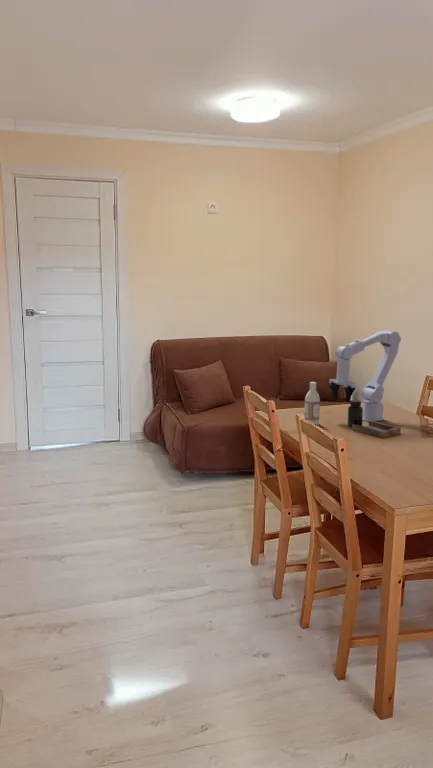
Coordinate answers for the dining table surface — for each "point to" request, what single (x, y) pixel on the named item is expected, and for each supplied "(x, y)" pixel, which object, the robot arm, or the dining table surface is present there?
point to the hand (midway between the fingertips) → (341, 400)
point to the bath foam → (312, 405)
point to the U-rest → (377, 429)
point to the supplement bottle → (355, 413)
